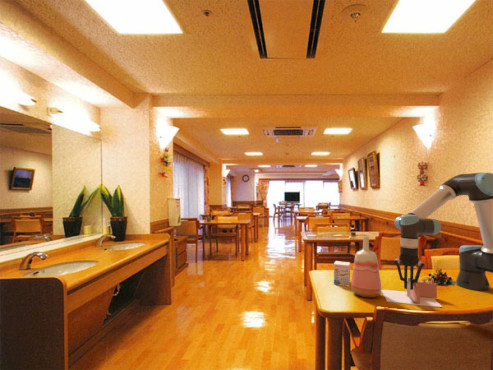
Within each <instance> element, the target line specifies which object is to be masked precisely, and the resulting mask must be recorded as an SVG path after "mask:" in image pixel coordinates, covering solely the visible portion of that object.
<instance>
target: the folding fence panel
mask: <svg viewBox="0 0 493 370" xmlns="http://www.w3.org/2000/svg"><path fill="white" fill-rule="evenodd" d="M410 297H411V298H412V299H413V300H414V301H415V302H416V303H417V304H420V289H419V284H416V282H415V283H413V290H410Z"/></svg>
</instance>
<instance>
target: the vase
mask: <svg viewBox="0 0 493 370" xmlns="http://www.w3.org/2000/svg"><path fill="white" fill-rule="evenodd" d="M362 238H363V239H362V249H360V250H358V251H356V253H354V254H355V256H354V260H353V261H354V262H353V269H352V276H351V280H350V289H351V291H352V292H353V293H354V294H355V295H357V296H358V297H359V296H360V297H362V298H369V299H370V298H371V299H372V298H373V299H374V298H377V297H379V296H381V294H382V282H381V276H380V275H381V274H380V269H379V263H378V255H377V254H376V252H374V251H371V249H370V237H369V236H368V235H367V236H366V235H363V236H362Z"/></svg>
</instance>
